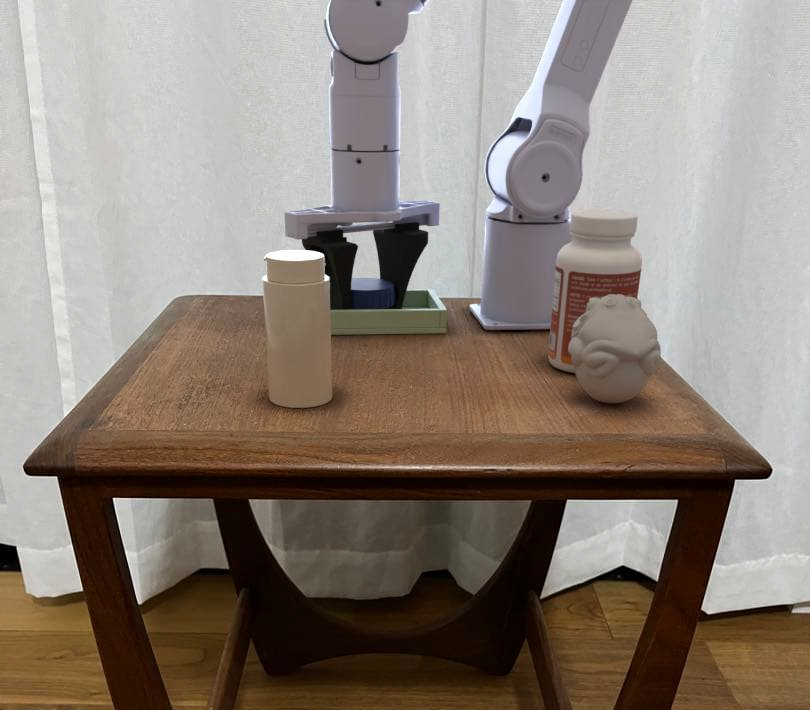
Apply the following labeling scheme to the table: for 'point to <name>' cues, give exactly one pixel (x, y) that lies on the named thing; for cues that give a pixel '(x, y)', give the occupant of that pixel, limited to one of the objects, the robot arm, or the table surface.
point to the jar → (297, 328)
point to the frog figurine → (614, 348)
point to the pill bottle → (591, 272)
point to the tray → (395, 317)
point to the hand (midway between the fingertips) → (365, 316)
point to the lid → (372, 293)
